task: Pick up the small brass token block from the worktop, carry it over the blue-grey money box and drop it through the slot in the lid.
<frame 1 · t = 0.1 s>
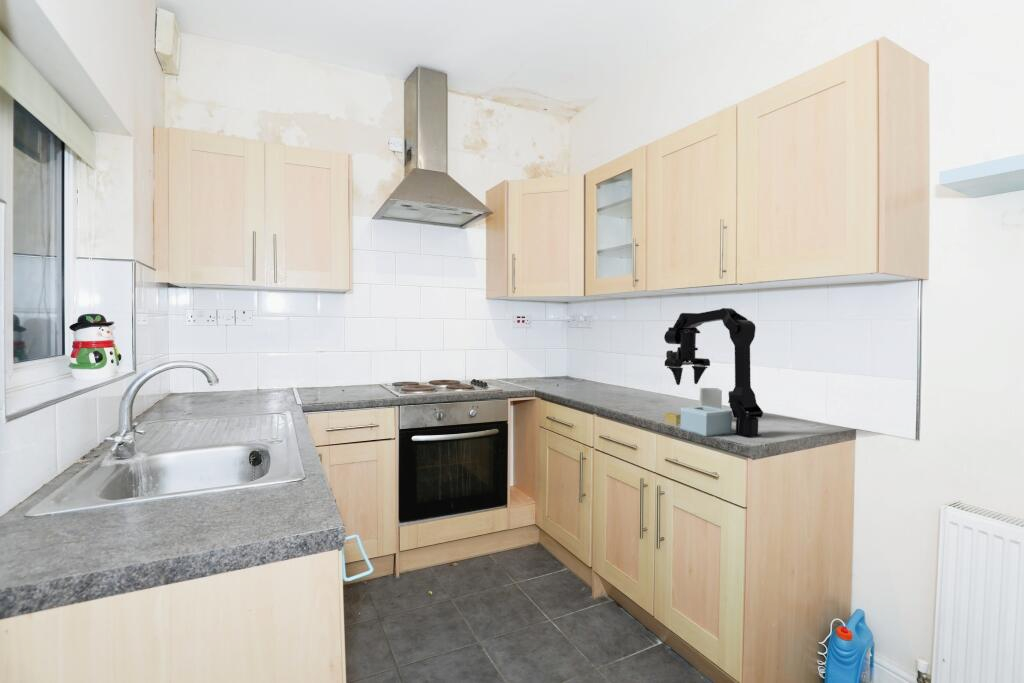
hand: (687, 384, 201), 15 cm above the worktop, tool pointing down, fingers open, 9 cm apart
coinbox: (705, 431, 181), on the worktop
token: (673, 423, 195), on the worktop
supplement box: (709, 420, 204), on the worktop
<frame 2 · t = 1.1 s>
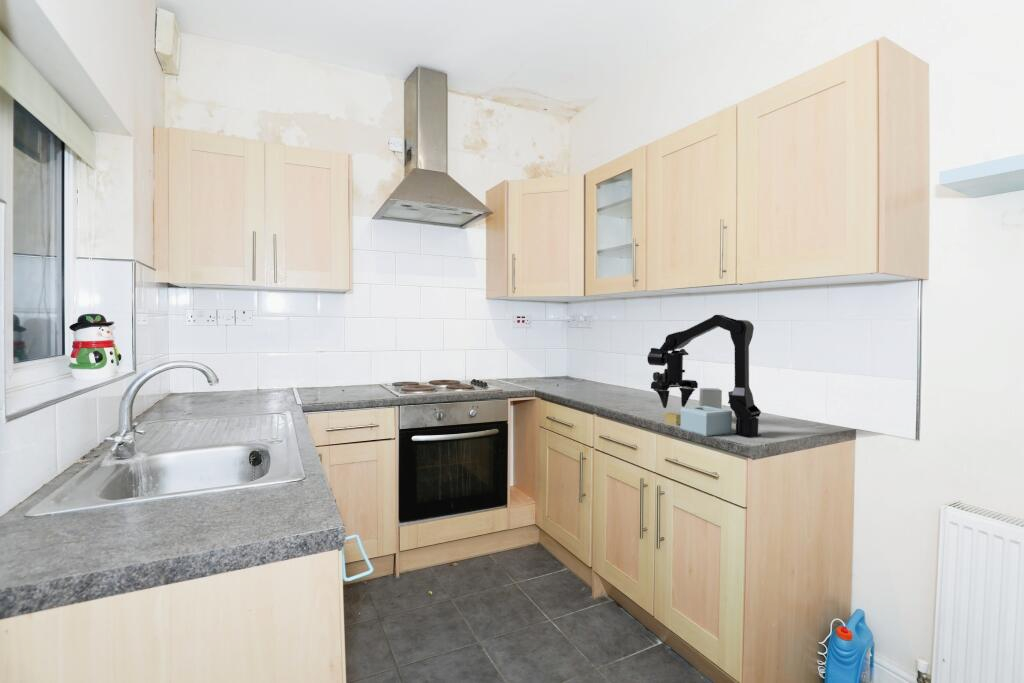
hand: (674, 407, 195), 6 cm above the worktop, tool pointing down, fingers open, 9 cm apart
nothing on the worktop moved.
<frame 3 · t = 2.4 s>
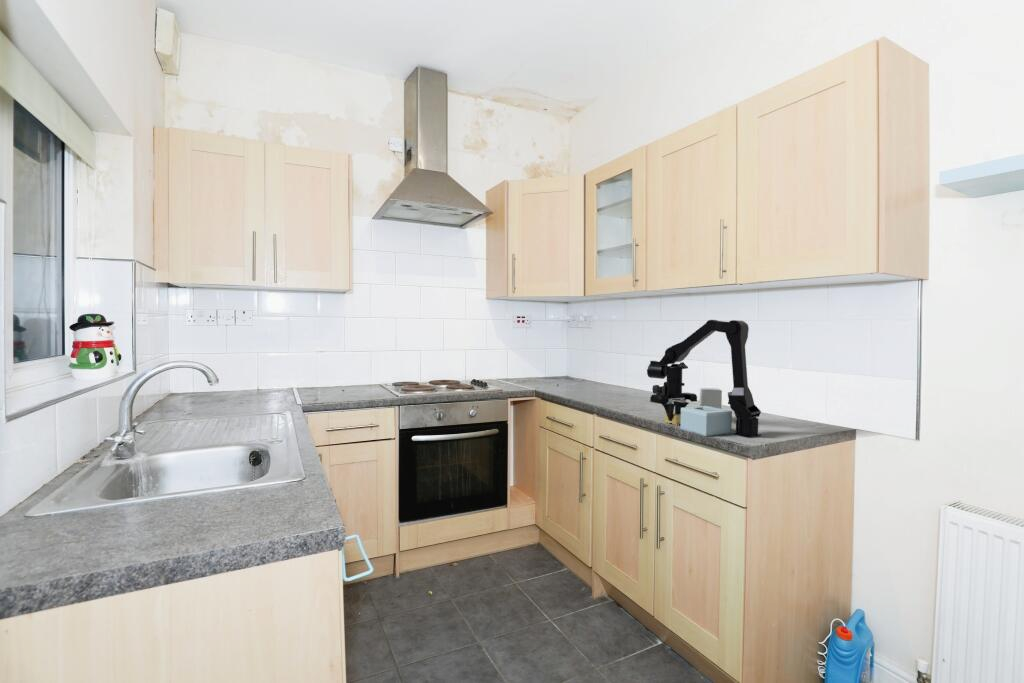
hand: (673, 420, 195), 1 cm above the worktop, tool pointing down, fingers closed on token, 3 cm apart
token: (673, 423, 195), on the worktop, touching gripper
everything else where it was.
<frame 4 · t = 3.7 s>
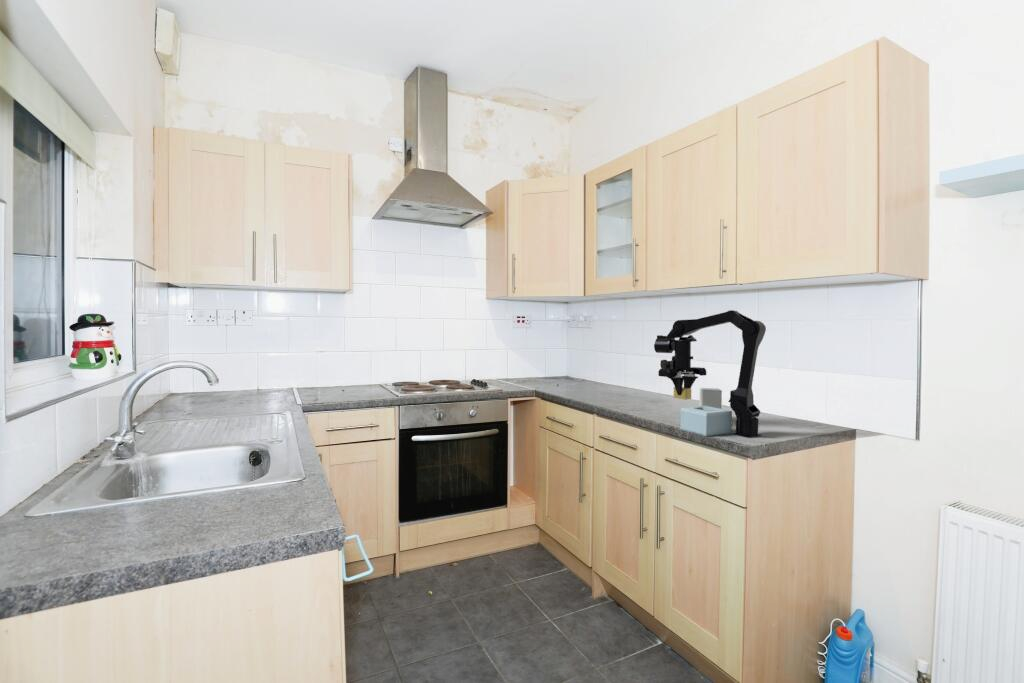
hand: (682, 395, 191), 12 cm above the worktop, tool pointing down, fingers closed on token, 3 cm apart
token: (682, 398, 191), point 10 cm above the worktop, touching gripper
everything else where it was.
when the fingers open (10 cm above the worktop, at t = 4.9 s): token drops 9 cm, resting on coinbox.
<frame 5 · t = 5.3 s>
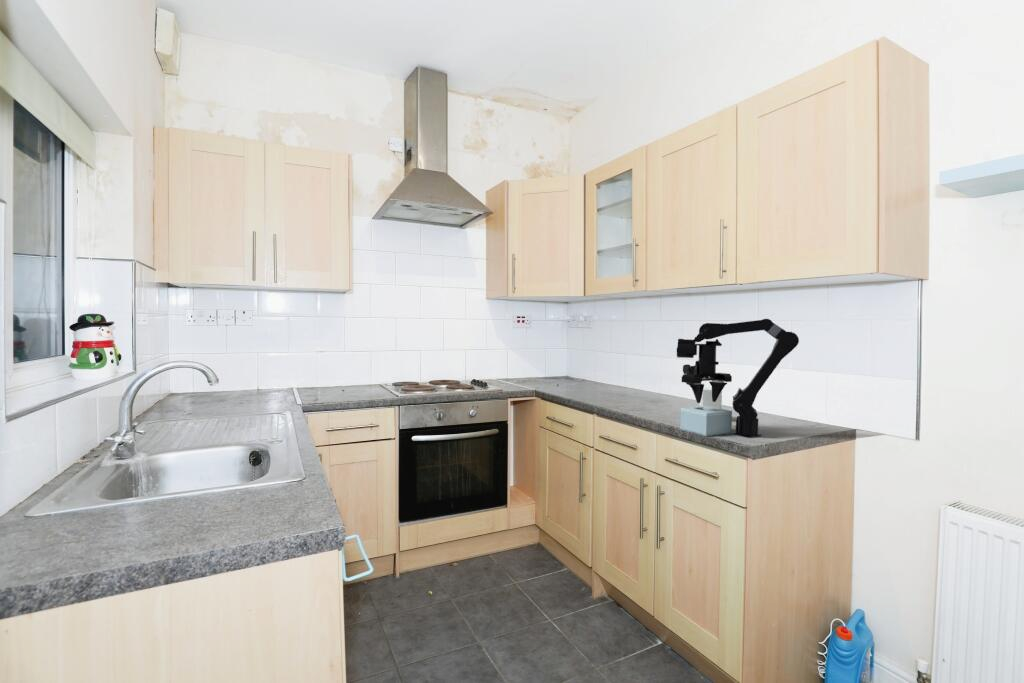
hand: (706, 402, 181), 10 cm above the worktop, tool pointing down, fingers open, 7 cm apart
token: (705, 430, 181), resting on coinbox
everything else where it was.
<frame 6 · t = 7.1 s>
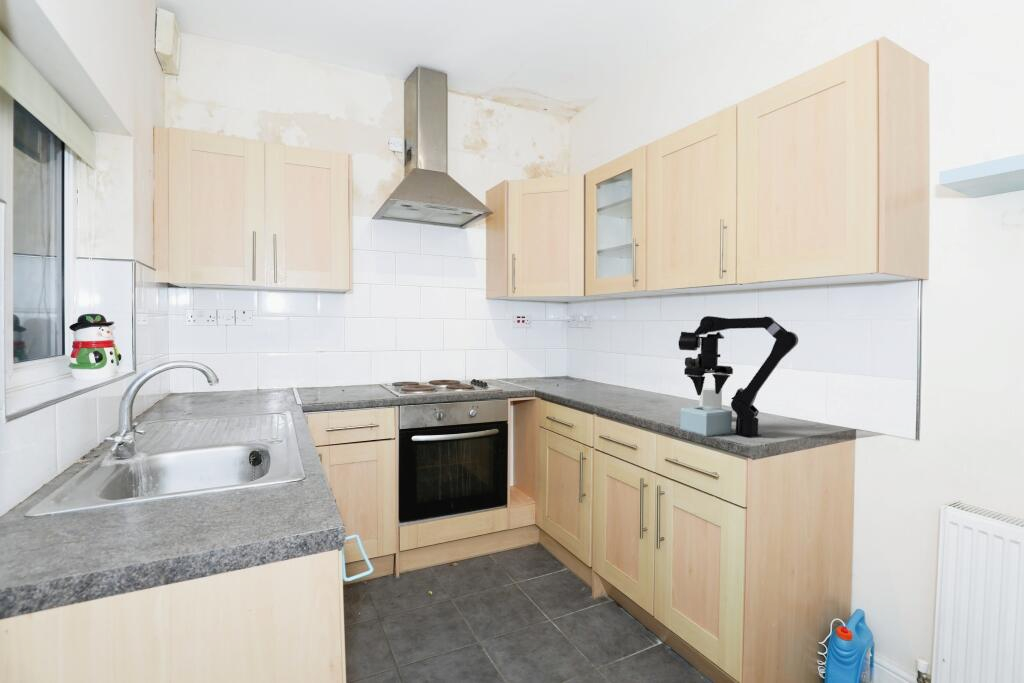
hand: (708, 394, 183), 13 cm above the worktop, tool pointing down, fingers open, 9 cm apart
nothing on the worktop moved.
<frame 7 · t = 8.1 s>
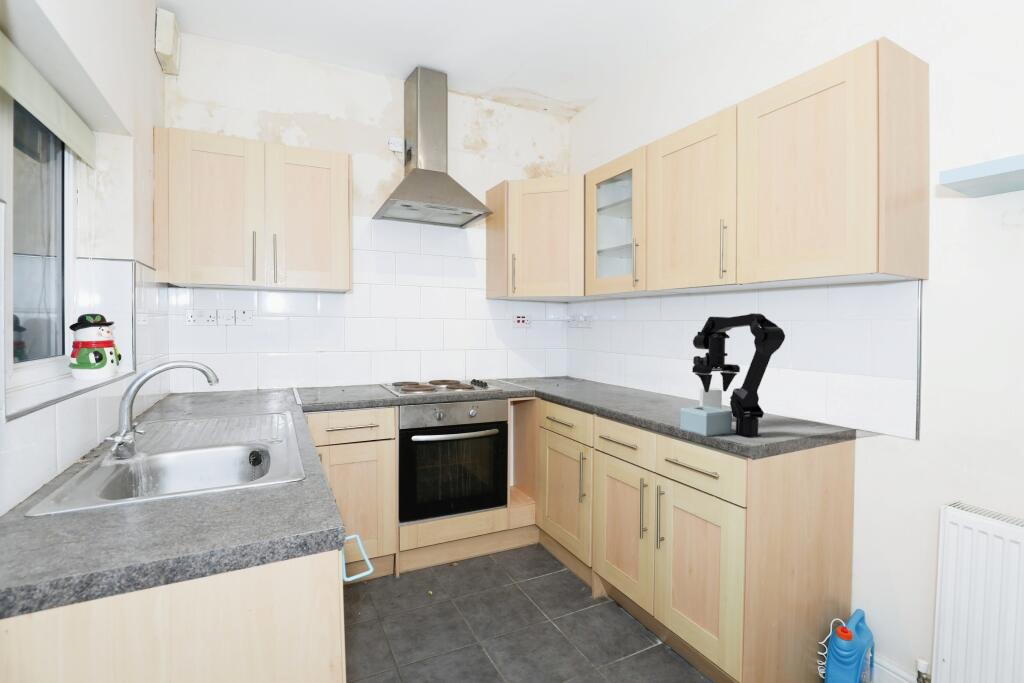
hand: (715, 391, 191), 13 cm above the worktop, tool pointing down, fingers open, 9 cm apart
nothing on the worktop moved.
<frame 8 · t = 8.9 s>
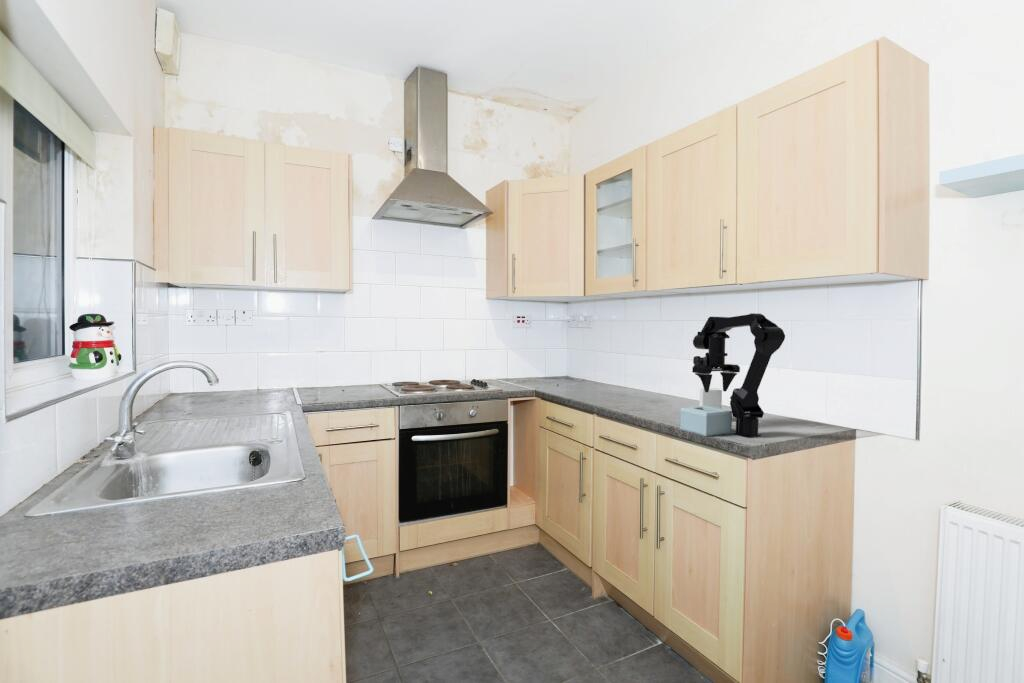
hand: (715, 391, 191), 13 cm above the worktop, tool pointing down, fingers open, 9 cm apart
nothing on the worktop moved.
at the end: token 0.0 cm from the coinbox (horizontally); token point 0.5 cm above the worktop; the gripper is holding nothing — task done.
